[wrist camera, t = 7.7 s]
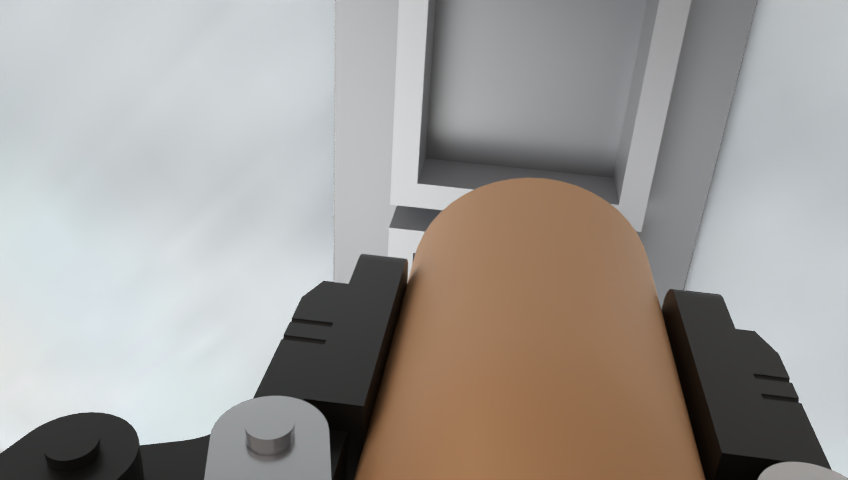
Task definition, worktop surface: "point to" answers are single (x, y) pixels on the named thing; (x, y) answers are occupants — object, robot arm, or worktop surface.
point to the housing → (530, 112)
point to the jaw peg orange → (530, 349)
